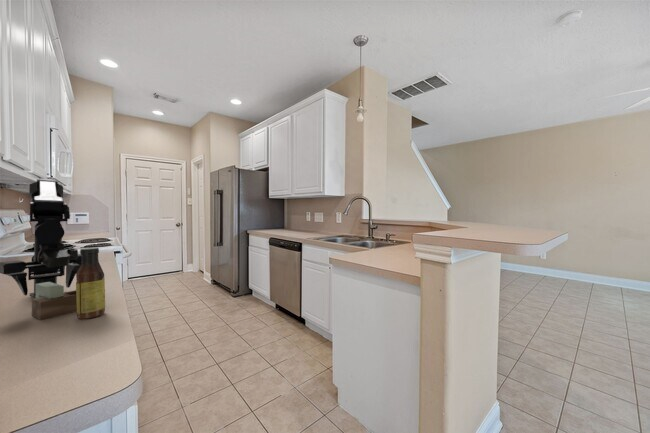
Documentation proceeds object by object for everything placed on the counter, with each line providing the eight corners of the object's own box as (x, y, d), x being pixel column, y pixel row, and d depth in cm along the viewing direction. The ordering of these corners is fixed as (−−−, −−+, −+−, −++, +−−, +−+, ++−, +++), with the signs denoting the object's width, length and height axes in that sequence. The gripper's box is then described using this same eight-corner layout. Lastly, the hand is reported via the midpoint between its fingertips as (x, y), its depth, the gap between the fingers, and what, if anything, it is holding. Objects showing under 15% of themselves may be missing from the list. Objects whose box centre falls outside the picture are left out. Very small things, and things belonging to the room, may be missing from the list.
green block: (35, 309, 79) (35, 283, 79) (48, 306, 82) (49, 281, 82) (49, 316, 75) (49, 288, 75) (63, 312, 78) (63, 286, 78)
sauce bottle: (110, 312, 79) (111, 247, 79) (90, 320, 73) (90, 250, 72) (91, 311, 79) (92, 246, 79) (69, 319, 73) (70, 249, 73)
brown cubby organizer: (31, 316, 75) (32, 298, 75) (84, 303, 86) (84, 288, 86) (40, 320, 72) (40, 302, 72) (93, 306, 83) (94, 291, 83)
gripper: (11, 245, 67) (10, 305, 67) (99, 239, 84) (98, 287, 84) (-4, 242, 72) (-4, 298, 72) (82, 237, 89) (82, 282, 89)
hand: (47, 291), depth 79 cm, fingers open, 9 cm apart
